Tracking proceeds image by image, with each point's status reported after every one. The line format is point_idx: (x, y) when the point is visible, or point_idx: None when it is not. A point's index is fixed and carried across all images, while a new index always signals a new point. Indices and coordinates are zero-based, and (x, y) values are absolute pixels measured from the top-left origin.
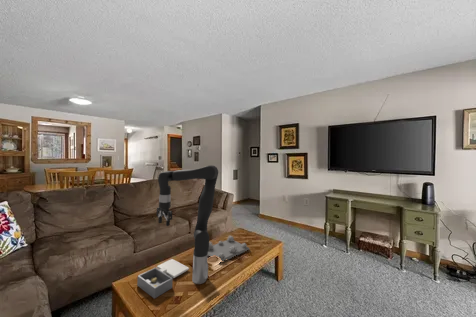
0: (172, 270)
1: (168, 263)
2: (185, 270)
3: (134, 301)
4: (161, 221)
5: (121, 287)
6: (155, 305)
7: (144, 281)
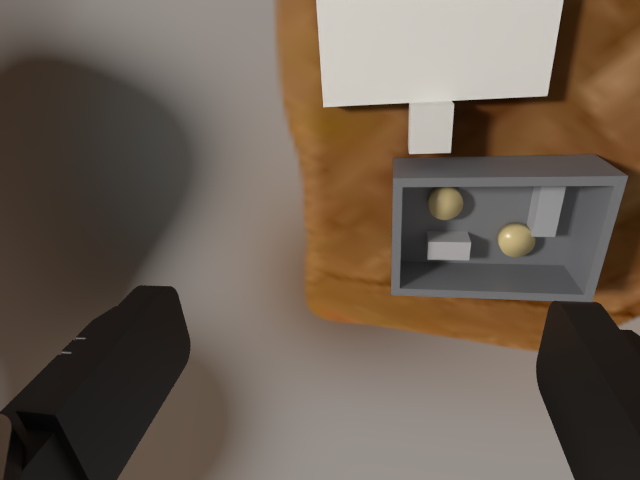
0: (473, 56)
1: (358, 15)
2: None
3: (491, 324)
4: (158, 311)
5: (345, 310)
6: (613, 288)
7: (471, 295)
